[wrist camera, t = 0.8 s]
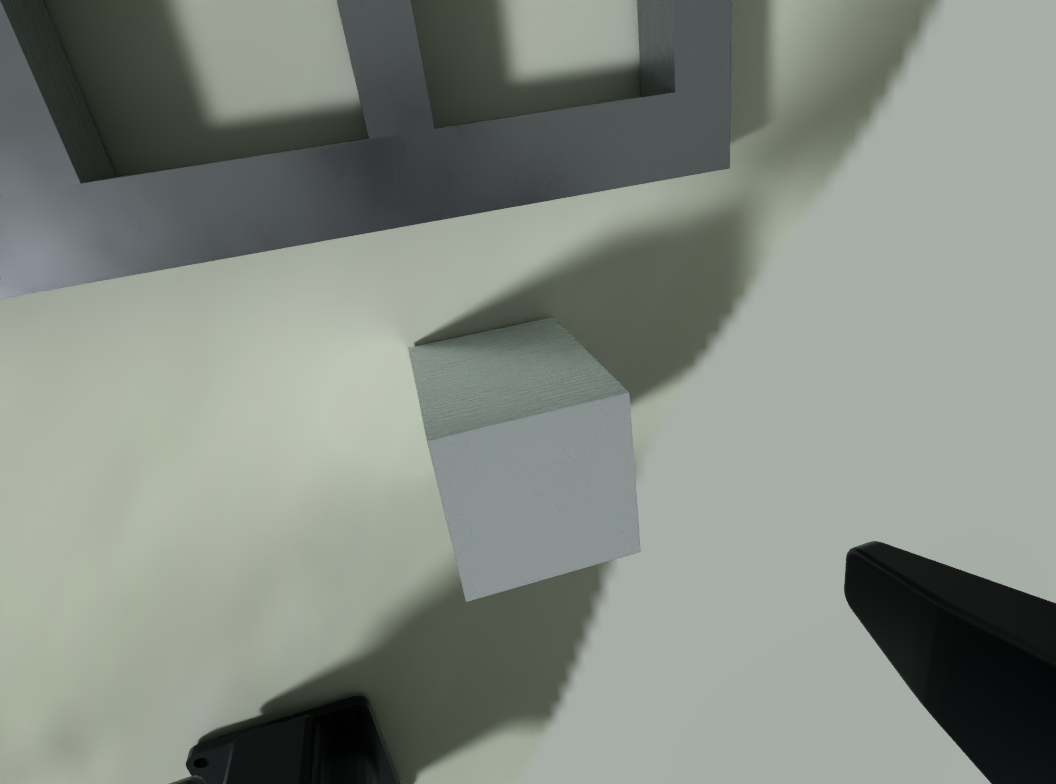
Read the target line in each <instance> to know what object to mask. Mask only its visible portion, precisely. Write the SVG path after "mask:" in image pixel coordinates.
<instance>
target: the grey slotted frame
mask: <svg viewBox="0 0 1056 784" xmlns="http://www.w3.org/2000/svg"><path fill="white" fill-rule="evenodd" d="M337 4H338V8H339V12H340V17H341V21H342V25H343V29H344V34H345V38H346V42H347V47H348V51H349V55H350V60H351V64H352V68H353V73H354V77H355V81H356V86H357V90H358V94H359V98H360V103H361V107H362V111H363V116H364V120H365V124H366V129H367V133H368V137H369V138H368V139H361V140H355V141H348V142H342V143H335V144H328V145H322V146H315V147H309V148H302V149H296V150H289V151H283V152H276V153H270V154H263V155H257V156H250V157H244V158H237V159H231V160H224V161H217V162H211V163H204V164H198V165H191V166H185V167H178V168H172V169H165V170H159V171H152V172H146V173H139V174H133V175H126V176H119V177H116V175H115V173H114V170H113V168H112V165H111V163H110V161H109V158H108V156H107V153H106V151H105V148H104V146H103V144H102V141H101V139H100V136H99V134H98V131H97V129H96V127H95V124H94V122H93V119H92V117H91V114H90V112H89V110H88V107H87V105H86V102H85V100H84V97H83V95H82V93H81V90H80V88H79V85H78V83H77V80H76V78H75V76H74V73H73V71H72V68H71V66H70V63H69V61H68V59H67V56H66V54H65V51H64V49H63V46H62V44H61V42H60V39H59V37H58V34H57V32H56V29H55V27H54V25H53V22H52V20H51V17H50V15H49V12H48V10H47V8H46V5H45V3H44V0H0V194H1V195H0V299H1V298H7V297H13V296H18V295H24V294H29V293H35V292H41V291H46V290H52V289H57V288H63V287H68V286H74V285H80V284H85V283H91V282H96V281H102V280H108V279H113V278H119V277H124V276H130V275H135V274H141V273H147V272H152V271H158V270H163V269H169V268H175V267H180V266H186V265H191V264H197V263H202V262H208V261H214V260H219V259H225V258H230V257H236V256H242V255H247V254H253V253H258V252H264V251H270V250H275V249H281V248H286V247H292V246H297V245H303V244H309V243H314V242H320V241H325V240H331V239H337V238H342V237H348V236H353V235H359V234H364V233H370V232H376V231H381V230H387V229H392V228H398V227H404V226H409V225H415V224H420V223H426V222H431V221H437V220H443V219H448V218H454V217H459V216H465V215H471V214H476V213H482V212H487V211H493V210H499V209H504V208H510V207H515V206H521V205H526V204H532V203H538V202H543V201H549V200H554V199H560V198H566V197H571V196H577V195H582V194H588V193H593V192H599V191H605V190H610V189H616V188H621V187H627V186H633V185H638V184H644V183H649V182H655V181H661V180H666V179H672V178H677V177H683V176H688V175H694V174H700V173H705V172H711V171H716V170H722V169H728V168H730V74H731V0H637V8H638V29H639V50H640V71H641V92H642V97H636V98H629V99H622V100H616V101H609V102H603V103H596V104H590V105H583V106H577V107H570V108H564V109H557V110H551V111H544V112H538V113H531V114H524V115H518V116H511V117H505V118H498V119H492V120H485V121H479V122H472V123H466V124H459V125H453V126H446V127H440V128H435V127H434V122H433V117H432V111H431V106H430V101H429V95H428V90H427V85H426V79H425V74H424V69H423V63H422V58H421V52H420V47H419V42H418V36H417V31H416V26H415V20H414V15H413V10H412V4H411V0H337Z"/></svg>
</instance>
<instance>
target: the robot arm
mask: <svg viewBox="0 0 1056 784" xmlns="http://www.w3.org/2000/svg"><path fill="white" fill-rule="evenodd" d="M844 592H845V597H846V600H847V602H848V604H849V606H850V608H851V609H852V611H853V612H854V613H855V615H856V616H857V617H858V619H859V620H860V622H861V623H862V624H863V626H864V627H865V628H866V630H867V631H868V632H869V634H870V635H871V636H872V638H873V639H874V640H875V642H876V643H877V645H878V646H879V647H880V649H881V650H882V651H883V653H884V654H885V655H886V657H887V658H888V660H889V661H890V662H891V664H892V665H893V666H894V668H895V669H896V670H897V672H898V673H899V674H900V676H901V677H902V679H903V680H904V681H905V683H906V684H907V685H908V687H909V688H910V689H911V691H912V692H913V693H914V694H915V696H916V697H917V698H918V700H919V701H920V702H921V703H922V705H923V706H924V707H925V708H926V709H927V711H928V712H929V713H930V714H931V715H932V717H933V718H934V719H935V720H936V721H937V722H938V723H939V725H940V726H941V727H942V728H943V729H944V730H945V731H946V732H947V734H948V735H949V736H950V737H951V738H952V739H953V741H955V743H956V744H957V745H958V746H959V747H960V748H961V750H962V751H963V752H964V753H965V754H966V755H967V756H968V757H969V759H970V760H971V761H972V762H973V763H974V764H975V765H976V767H977V768H978V769H979V770H980V771H981V772H982V773H983V774H984V776H985V777H986V778H987V779H988V780H989V781H990V783H991V784H1056V603H1053V602H1050V601H1047V600H1045V599H1042V598H1039V597H1036V596H1033V595H1030V594H1027V593H1024V592H1022V591H1019V590H1016V589H1013V588H1010V587H1008V586H1005V585H1002V584H999V583H996V582H993V581H990V580H988V579H985V578H982V577H979V576H976V575H973V574H970V573H967V572H965V571H962V570H959V569H956V568H953V567H950V566H948V565H945V564H942V563H939V562H936V561H933V560H930V559H927V558H924V557H922V556H919V555H916V554H913V553H910V552H908V551H904V550H902V549H899V548H896V547H893V546H890V545H888V544H885V543H881V542H877V541H873V542H869V543H866V544H863V545H860V546H857V547H854V548H852V549H850V550H849V552H848V553H847V557H846V571H845V584H844ZM354 710H356V711H354ZM186 767H187V769H188V770H189V772H190V774H191V775H192V776H190V777H187V778H184V779H181V780H179V781H176V782H173V783H170V784H400V782H399V779H398V777H397V774H396V771H395V769H394V766H393V763H392V761H391V758H390V755H389V752H388V750H387V747H386V744H385V742H384V739H383V736H382V734H381V731H380V728H379V726H378V723H377V720H376V717H375V715H374V712H373V709H372V707H371V704H370V701H369V700H368V699H367V698H365V697H363V696H355V697H351V698H347V699H344V700H341V701H338V702H334V703H331V704H328V705H325V706H321V707H318V708H315V709H311V710H308V711H305V712H302V713H298V714H295V715H292V716H288V717H285V718H282V719H279V720H275V721H272V722H269V723H266V724H262V725H259V726H256V727H252V728H249V729H246V730H243V731H239V732H236V733H233V734H230V735H226V736H223V737H220V738H216V739H213V740H210V741H207V742H203V743H200V744H198V745H195V746H194V747H192V748H191V749H190V751H189V754H188V758H187V761H186Z"/></svg>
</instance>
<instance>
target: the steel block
mask: <svg viewBox="0 0 1056 784" xmlns="http://www.w3.org/2000/svg"><path fill="white" fill-rule="evenodd" d="M409 352H410V358H411V363H412V368H413V373H414V378H415V383H416V388H417V393H418V398H419V403H420V408H421V413H422V418H423V423H424V428H425V433H426V438H427V443H428V447H429V451H430V455H431V459H432V464H433V468H434V472H435V476H436V480H437V484H438V488H439V493H440V497H441V501H442V505H443V509H444V513H445V517H446V521H447V526H448V530H449V534H450V538H451V542H452V546H453V550H454V555H455V559H456V563H457V567H458V571H459V575H460V579H461V583H462V588H463V592H464V596H465V600H466V602H468V601H471V600H475V599H478V598H482V597H485V596H489V595H492V594H496V593H499V592H503V591H506V590H510V589H513V588H517V587H520V586H523V585H527V584H530V583H534V582H537V581H541V580H544V579H548V578H551V577H555V576H558V575H562V574H565V573H569V572H572V571H576V570H579V569H582V568H586V567H589V566H593V565H596V564H600V563H603V562H607V561H610V560H614V559H617V558H621V557H624V556H628V555H631V554H635V553H638V552H640V540H639V526H638V511H637V497H636V482H635V468H634V453H633V439H632V425H631V410H630V396H629V392H628V391H627V390H626V389H625V388H624V387H623V386H622V385H621V384H620V383H619V382H618V381H617V380H616V379H615V378H614V377H613V376H612V375H611V374H610V373H609V372H608V371H607V370H606V369H605V368H604V367H603V366H602V365H601V364H600V363H599V362H598V361H597V360H596V359H595V358H594V357H593V356H592V355H591V354H590V353H589V352H588V351H587V350H586V349H585V348H584V347H583V346H582V345H581V344H580V343H579V342H578V341H577V340H576V339H575V338H574V337H573V336H572V335H571V334H570V333H569V332H568V331H567V330H566V329H565V328H564V327H563V326H562V325H561V324H560V323H558V322H557V321H556V320H555V319H554V318H553V317H551V318H546V319H541V320H537V321H532V322H527V323H523V324H518V325H513V326H509V327H504V328H499V329H494V330H490V331H485V332H480V333H476V334H471V335H466V336H462V337H457V338H452V339H447V340H443V341H438V342H433V343H429V344H424V345H419V346H415V347H410V348H409Z"/></svg>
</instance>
